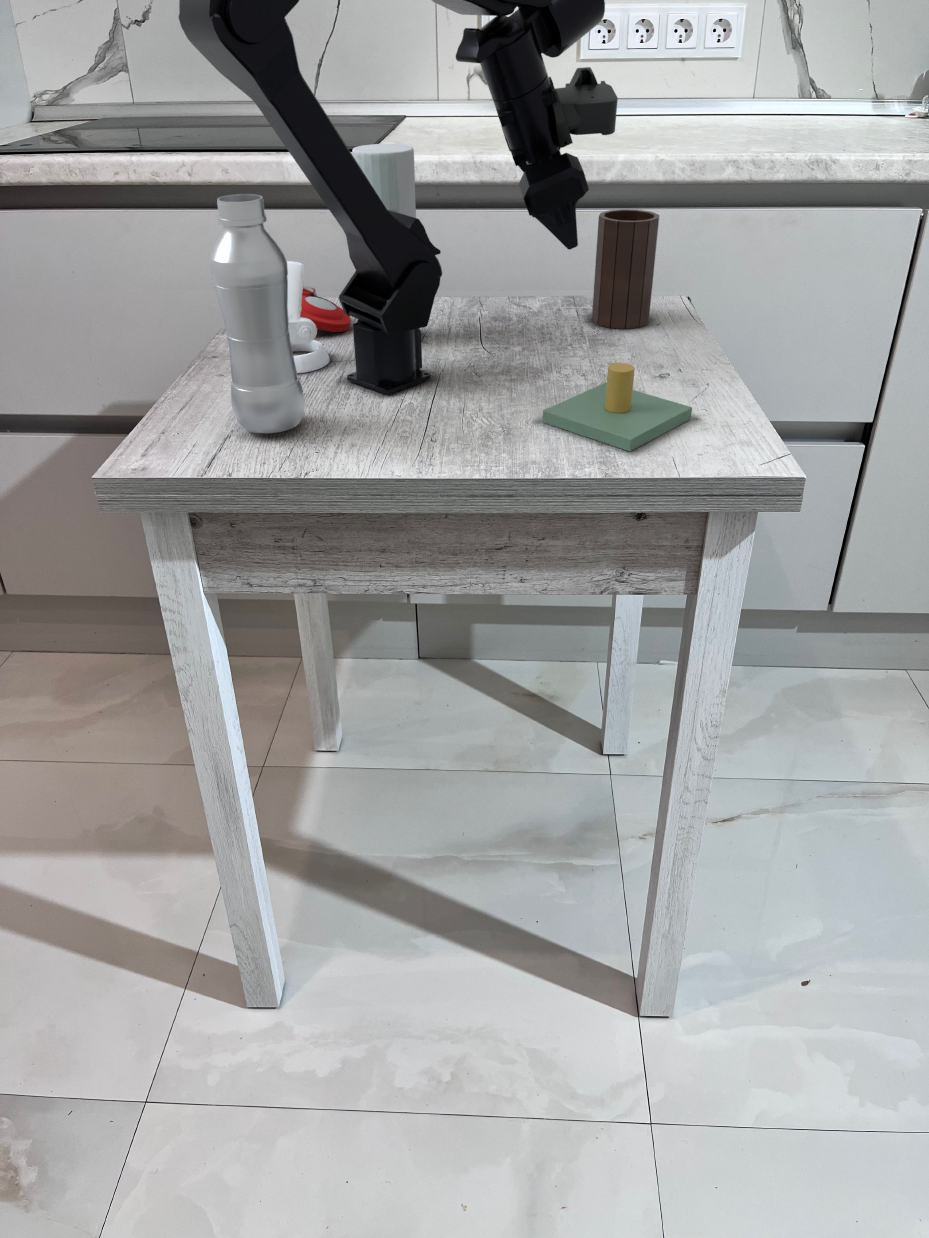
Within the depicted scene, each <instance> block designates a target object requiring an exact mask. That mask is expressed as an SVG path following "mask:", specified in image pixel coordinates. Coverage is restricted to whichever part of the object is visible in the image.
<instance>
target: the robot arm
mask: <svg viewBox="0 0 929 1238" xmlns="http://www.w3.org/2000/svg"><path fill="white" fill-rule="evenodd" d="M299 2H300V0H179V2H178V3H179V4H178V5H179V6H178V7H179V8H178V10H179V11H178V20H179V24H180V28H181V30H182V31H183V33H184V35H185V37H186V39H187V40H188V41H189V42H190V43H191V45H192V46H193V47H194V48H195V49H196V50H197V51H198V52H199V53H200V54H201V55H202V56H203V57H204V58H205V59H206V60H207V61H208V62H209V64H210V65H212V67H214V69H215V70H217V72H219V73H220V75H222V76H223V77H224V78H225V79H227V80H228V81H229V82H230V83H232V84H233V85H234V86H235V87H236V88H238V89H239V90H240V91H241V92H243V93H244V94H245V95H246V96H247V97H248V98H250V99H251V100H252V102H254V104H255V105H256V106H257V108H258V109H259V111H260V112H261V114H262V115H263V116H264V118H265V120H266V121H267V123H268V124H269V125H270V127H271V128H272V129H273V131H274V132H275V134H276V136H277V137H278V138H279V139H280V141H281V142H282V144H283V145H284V147H285V149H286V150H287V151H288V152H289V154H290V155H291V157H292V159H293V160H294V161H295V163H296V164H297V166H298V167H299V168H300V170H301V172H302V173H303V174H304V176H305V177H306V178H307V180H308V181H309V183H310V184H311V186H312V187H313V189H314V190H315V192H316V193H317V194H318V196H319V197H320V199H321V201H322V202H323V203H324V205H325V207H327V209H328V210H329V212H330V214H331V215H332V216H333V217H334V219H335V220H336V222H337V223H338V225H339V226H340V227H341V229H342V231H343V232H344V235H345V237H346V243H347V244H346V245H347V249H348V255H349V258H350V262H351V263H352V265H353V267H354V270H355V271H354V273H353V274H352V275H351V278H350V279H349V280H348V282H347V283H346V285H345V286H344V287H343V289H342V290H341V292H340V294H339V295H338V300H339V304H340V306H341V309H343V310H344V313H345V314H346V315H348V316H350V317H352V318H354V319H356V320H357V322H355V323H352V335H353V336H352V337H353V348H354V349H353V350H354V362H355V371H354V372H351V373H349V374H347V375H346V380H347V381H348V382H350V383H353V384H356V385H358V386H359V385H360V386H362V387H365V388H368V389H371V390H373V391H377V392H378V393H381V394H385V395H390V394H393V393H396V392H399V391H401V390H404V389H407V388H409V387H412V386H415V385H418V384H420V383H422V382H425V381H428V380H431V378H432V373H431V372H428V371H425V370H422V368H423V350H422V348H423V347H422V331H421V328H426V327H428V325H429V322H430V318H431V314H432V309H433V306H434V302H435V299H436V296H437V293H438V290H439V288H440V285H441V277H442V276H443V268H442V265H441V262H440V260H439V258H438V257H437V256H438V255H440V254H441V249H439V248H438V247H437V246H435V245H434V244H433V242H431V240H430V237H429V235H428V233H427V230H426V228H425V226H424V224H423V223H422V221H421V220H420V219H419V218H418V217H416V218H414V217H411V216H408V215H404V214H401V213H397V212H394V211H391V210H387V209H386V207H385V205H384V204H383V202H382V201H381V199H380V198H379V196H378V194H377V193H376V191H375V190H374V188H373V187H372V185H371V183H370V182H369V180H368V179H367V177H366V176H365V174H364V172H363V171H362V169H361V168H360V166H359V165H358V163H357V161H356V160H355V158H354V157H353V155H352V151H350V148H349V147H348V145H346V142H345V141H344V139H343V138H342V136H341V135H340V133H339V132H338V130H337V129H336V126H335V125H334V124H333V122H332V120H331V119H330V117H329V116H328V114H327V112H326V111H325V110H324V108H323V107H322V105H321V104H320V102H319V100H318V98H317V97H316V95H315V93H313V91H312V89H311V88H310V86H309V85H308V83H307V82H306V79H305V78H304V76H303V74H302V71H301V69H300V66H299V65H300V64H299V61H298V55H297V50H296V45H295V39H294V36H293V33H292V30H291V29H290V26H289V24H288V22H287V19H286V17H287V15H289V13H290V12H291V11H292V10H293V9H294V8H295V6H297V4H298V3H299ZM431 2H432V3H434V4H436V5H439V6H440V7H443V8H445V9H447V10H450V11H452V12H454V13H456V14H459V15H463V16H486V17H487V16H491V17H493V18H491V19H490V20H489V21H488V22H486V23H485V24H484V25H483V26H482V27H480V28H479V27H478V28H477V27H475V28H474V27H465V28H464V29H463V32H462V39H461V41H460V43H459V45H458V46H457V50H456V53H455V60H456V62H459V63H469V64H479V65H480V68H481V71H482V73H483V76H484V79H485V82H486V84H487V87H488V91H489V93H490V96H491V99H492V101H493V104H494V106H495V110H496V113H497V117H498V120H499V122H500V126H501V129H502V134H503V137H504V139H505V143H506V145H507V149H508V151H509V152H510V154H511V158H512V160H513V162H514V165H515V167H518V168H519V169H520V170H521V171H522V172H523V173H522V176H521V178H520V180H519V182H518V185H519V188H520V193H521V195H522V198H523V201H524V205H525V207H526V210H527V213H528V215H529V216H531V217H532V218H535V219H536V220H537V222H539V223H540V224H541V225H542V226H543V227H545V229H547V231H549V232H550V233H551V234H552V235H553V236H554V237H555V238H556V239H557V240H558V241H559V242H560V243H561V244H562V245H563V246H564V247H565V248H566V249H567V250H572V249H575V248H577V247H578V246H579V239H578V227H577V226H578V224H577V223H578V222H577V207H576V206H577V203H578V202H579V201H580V199H582V198H584V196H585V195H586V194H587V193H588V191H589V190H590V188H589V185H588V184H589V183H588V181H587V177H586V175H585V171H584V169H583V167H582V164H581V162H580V159H579V157H578V156H576V155H574V154H573V155H572V154H571V153H568V152H564V153H562V152H561V148H562V149H563V148H565V147H567V146H570V145H572V144H574V142H573V139H572V136H573V135H574V136H583V135H599V134H600V135H601V136H610V135H613V134H614V133H615V132H616V121H617V111H618V110H617V109H618V102H619V101H618V95H617V94H616V92H615V90H614V88H613V87H612V85H611V84H608V83H606V80H601V81H600V83H599V82H598V81H597V78H596V76H595V72H594V71H593V69H592V68H591V67H590V66H587V67H586V66H585V67H577V68H576V69H575V72H574V74H573V75H572V78H571V79H570V82H569V83H565V87H557V88H555V85H554V82H553V79H552V76H549V75H548V72H547V69H546V68H547V67H546V65H545V61H544V58H543V55H544V56H546V57H549V58H553V59H554V58H558V57H560V56H561V55H562V54H563V53H565V52H566V51H567V50H568V49H570V48H571V47H572V46H574V44H576V43H578V41H579V40H580V39H582V38H583V37H584V36H586V35H587V34H588V33H589V32H591V31H592V30H593V29H594V28H595V27H597V26H598V25H599V24H601V22H602V20H603V19H604V17H605V12H606V2H605V0H431ZM516 9H517V10H516ZM387 301H388V302H387Z"/></svg>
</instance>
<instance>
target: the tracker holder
mask: <svg viewBox="0 0 929 1238" xmlns="http://www.w3.org/2000/svg"><path fill="white" fill-rule="evenodd" d="M301 307H302V309H301V313H300V317H303V318H307V319H310V320H311V321H313V322H314V324H315V325H316V328H317V330H320V331H325V332H326V331H327V332H333V333H341V332H346V331H348V330H349V329H350V325H351V321H352V319H351V316H348V315H346V314H345V313H344V310H343V308H342V307H340V306H338V305H337V304H335V303H334V302H332V301H331V300H329V299H327V298H324V297H321V296H318V295H317V293H316V288H314V287H310V286H309V285H305V284H303V291H302V302H301Z"/></svg>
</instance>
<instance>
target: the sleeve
mask: <svg viewBox="0 0 929 1238" xmlns="http://www.w3.org/2000/svg"><path fill="white" fill-rule="evenodd" d="M597 222H598V223H597V237H596V249H595V250H596V251H595V267H594V280H593V281H594V284H593V294H592V295H593V298H592V311H591V312H592V313H591V321H592V322H593V323H594V324H596V325H598V326H600V327H604V328H608V329H619V330H629V329H637V328H641V327H644V326H646V325H647V326H648V324H649V322H650V312H651V304H652V294H653V284H654V275H655V274H654V273H655V264H656V256H657V255H656V253H657V246H658V245H657V244H658V237H659V236H658V235H659V225H660V224H659V223H660V215H659V214H658V213H655V212H653V211H649V210H644V209H626V208H625V209H624V208H623V209H622V208H621V209H611V210H605V211H601V212H600V213H599V215H598V221H597Z"/></svg>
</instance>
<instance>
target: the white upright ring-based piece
mask: <svg viewBox="0 0 929 1238" xmlns="http://www.w3.org/2000/svg"><path fill="white" fill-rule="evenodd" d="M286 261H287V267H288V275H287V277H288V307H287V308H288V321H289V325H288V328H289V334H290V342H291V347H292V352H293V353H294V352H308V353H304V354H300V355H293V357H294V361H295V366H296V371H297V374H303V373H309V372H313V371H317V370H319V369H322V368H324V367H326V366H327V365H328V364H329V363H330V359H331V358H330V356H329V354H328V351H327V350H326V348H325V347H324V345H323V343H321V342H320V341H318V340H317V339H316V337H317V334H318V329H317V328H316V325H315V324H314V322H313V321H311V320H310V319H307V318H303V317H300V313H301V309H302V307H301V302H302V291H303V285H304V279H305V265H304V264H303V263H301V262H299V261H293V260H291V261H290V260H286ZM315 339H316V340H315Z"/></svg>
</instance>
